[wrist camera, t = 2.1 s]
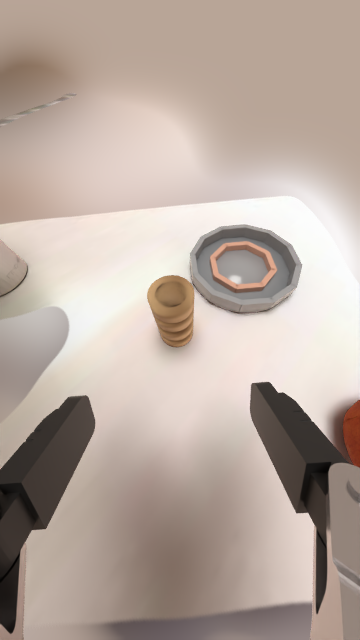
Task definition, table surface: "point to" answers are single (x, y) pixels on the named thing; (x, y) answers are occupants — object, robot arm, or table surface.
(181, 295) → the bead stack
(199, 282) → the round tray
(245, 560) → the table surface
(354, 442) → the fruit
